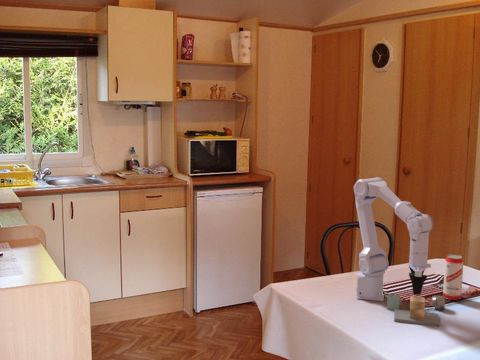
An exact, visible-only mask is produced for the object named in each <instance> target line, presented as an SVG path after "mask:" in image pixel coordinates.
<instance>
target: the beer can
mask: <svg viewBox="0 0 480 360" xmlns="http://www.w3.org/2000/svg"><path fill="white" fill-rule="evenodd" d="M443 273H444V274H443V286H442V287H443V291H442V296H443V297H444V298H448V299H454V300H455V299H459V300H461V299H462V289H463V273H464V259H463V256H462V255H459V254H456V253H454V254H453V253H451V254H450V253H448V254H447V255H446V258H445V259H444V272H443Z"/></svg>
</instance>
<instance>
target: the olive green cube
mask: <svg viewBox="0 0 480 360" xmlns="http://www.w3.org/2000/svg"><path fill="white" fill-rule="evenodd" d="M400 300H401V299H400V294H389V293H388V294H387V301H386V302H387V304H386V306H387V307H386V308H387V310H393V311H395V309H398V310H400Z"/></svg>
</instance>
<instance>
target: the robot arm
mask: <svg viewBox="0 0 480 360" xmlns="http://www.w3.org/2000/svg"><path fill="white" fill-rule="evenodd" d="M353 193H354V198H355V207H356V213H357V219H358V223H359V224H358V225H359V228H360V236H361V241H362V245H363V249H361V251H360V252H359V254H358V257H359V259H358V260H359V262H358V267H359V270H360V271H359V272H358V273H357V280H356V282H357V283H356V284H357V285H356V299H357V300H367V301H368V300H369V301H378V302H384V300H385V299H384V298H385V293H384V294H383V292H384V274H386V271H387V270H388V269H389V263H390V262H389V259H388V258H387V255H386V252H385V250H384V249H383V248H382V247H380V246H379V245H380V244H379V241H378V235H377V234H378V233H377V230H376V229H377V228H376V223H375V218H374V214H373V213H374V212H373V208H372V204H373V202H375V200H376V199H377V198H378V197H379V198H380V199H381V200H383V201H384V202H386V203H387V204H388V205H389V206H391V207H392V208H393V209H394V213H395V214H394V215H396V216H397V217H398V218H399V219H401V220H402V221H403V223H405V224H406V227H407V231H408V233H409V235H408V236H409V239H410V241H409V256H408V258H409V259H408V261H409V262H408V268H409V270H410V272H409V273H408V277H409V279H410V281H411V285H412V293H413V295H415V296H416V295H417V296H420V295H421V293H422V290H423V288H424V287H423V286H424V283H425V282H426V280H427V278H428V275H426V274H424V272H425V270H427V268H431V267H432V265H431V263H428V259H429V257H428V254H429V243H430V241H429V239H430V238H429V237H430V232H431V231H432V230H433V228H434V221H433V218H432V217H431V216H430V215H429V214H427V213H425V214H424V213H421V211H419V210H417V208H415V207H414V206H413V205H412V202H410V201H406V200H403V201H402V199H400V198H399V196H397V195H396V194H395V193H394V191H392V190H391V189H390V188H389V187H388V184H387V182H386V181H385V180H384V179H383V178H382V177H380V176H377V177H373V178H364V179H361V178H360V179H358V180H357V181H356V182H355V184H354V185H353Z"/></svg>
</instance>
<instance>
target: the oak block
mask: <svg viewBox="0 0 480 360" xmlns="http://www.w3.org/2000/svg"><path fill="white" fill-rule="evenodd" d="M409 301H410V303H409V311H410V318H413V319H422V320H424V312H425V308H426V307H425V305H426V303H425V302H426V299H425V297H424V296H416V295H410V300H409Z"/></svg>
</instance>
